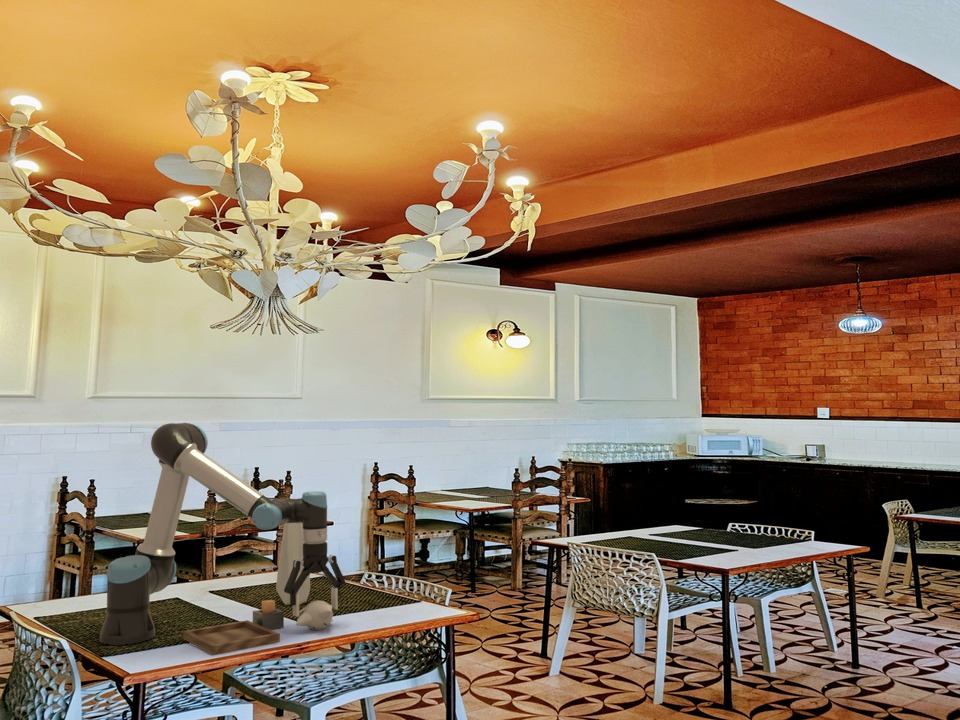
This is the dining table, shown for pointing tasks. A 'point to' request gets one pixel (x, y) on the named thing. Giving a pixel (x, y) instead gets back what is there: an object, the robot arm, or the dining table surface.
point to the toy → (316, 615)
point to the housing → (269, 619)
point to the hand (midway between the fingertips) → (315, 612)
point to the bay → (231, 637)
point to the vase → (291, 561)
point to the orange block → (268, 606)
